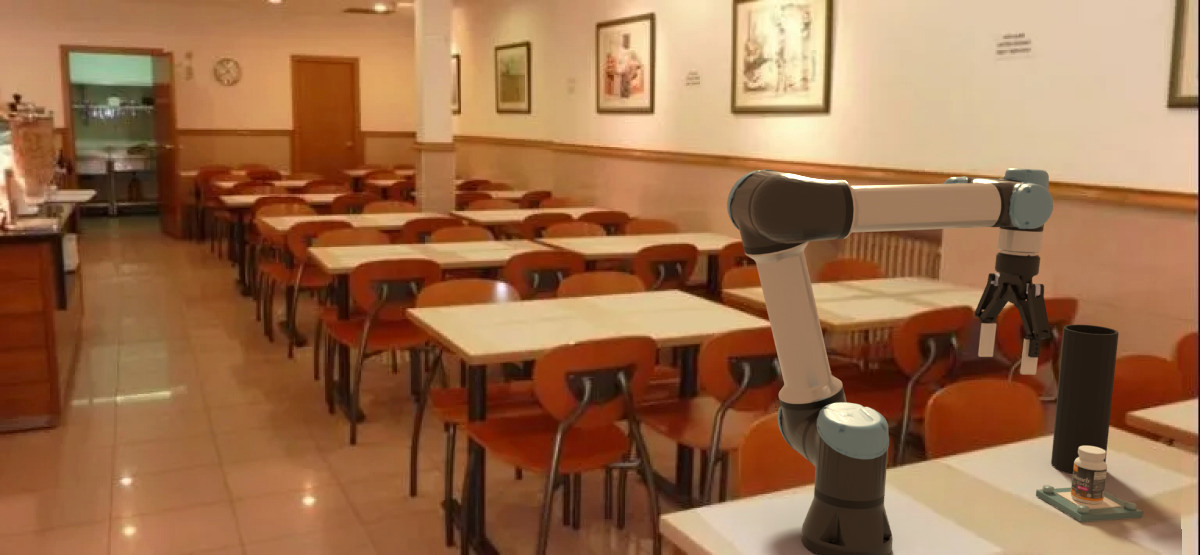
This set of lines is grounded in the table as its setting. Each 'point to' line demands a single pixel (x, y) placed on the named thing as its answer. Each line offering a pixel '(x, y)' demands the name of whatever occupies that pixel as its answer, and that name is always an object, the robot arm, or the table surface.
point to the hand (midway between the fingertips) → (1005, 365)
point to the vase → (1083, 392)
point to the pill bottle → (1089, 475)
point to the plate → (1089, 505)
